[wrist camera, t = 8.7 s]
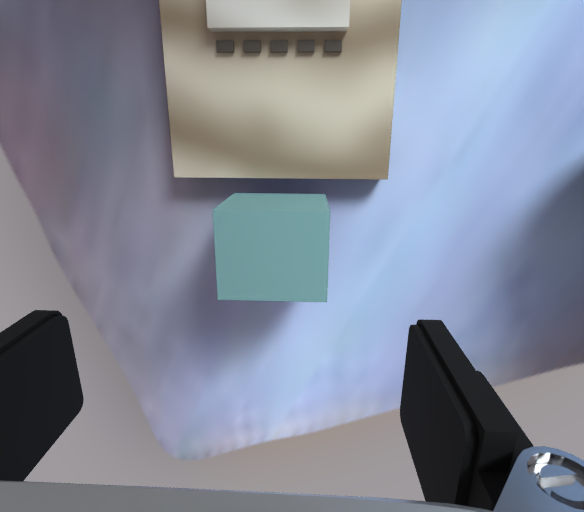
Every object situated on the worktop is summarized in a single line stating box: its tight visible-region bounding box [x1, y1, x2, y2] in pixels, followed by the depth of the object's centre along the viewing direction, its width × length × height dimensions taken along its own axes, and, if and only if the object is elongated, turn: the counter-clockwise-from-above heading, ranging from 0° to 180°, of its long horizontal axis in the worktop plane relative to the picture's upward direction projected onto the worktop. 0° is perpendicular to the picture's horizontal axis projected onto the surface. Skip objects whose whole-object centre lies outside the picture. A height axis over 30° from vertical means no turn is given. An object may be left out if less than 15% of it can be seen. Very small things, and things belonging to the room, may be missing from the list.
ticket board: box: [159, 0, 402, 179], centre depth 23 cm, size 18×14×3 cm
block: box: [213, 193, 330, 302], centre depth 23 cm, size 5×6×6 cm
